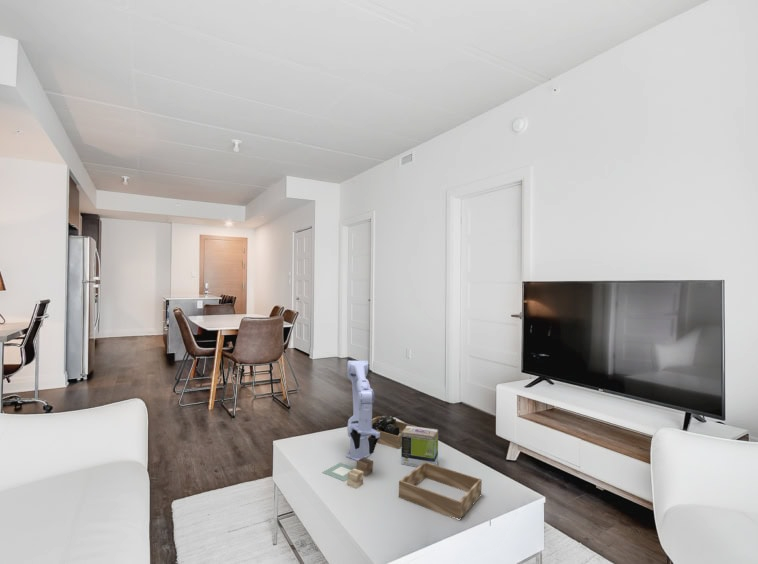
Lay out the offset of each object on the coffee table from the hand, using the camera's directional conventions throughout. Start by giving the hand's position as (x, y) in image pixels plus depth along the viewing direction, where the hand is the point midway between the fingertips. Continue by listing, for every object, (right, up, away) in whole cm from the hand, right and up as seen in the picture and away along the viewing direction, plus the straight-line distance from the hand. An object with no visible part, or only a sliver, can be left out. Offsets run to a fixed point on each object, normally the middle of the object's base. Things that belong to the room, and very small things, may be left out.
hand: (364, 450), depth 167 cm
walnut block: (0, -9, 0) cm, 9 cm away
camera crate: (+11, -10, +40) cm, 43 cm away
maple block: (-3, -9, -10) cm, 14 cm away
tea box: (+25, -11, +11) cm, 29 cm away
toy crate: (+30, -10, -17) cm, 36 cm away
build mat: (-9, -9, 0) cm, 13 cm away
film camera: (+11, -10, +40) cm, 43 cm away
